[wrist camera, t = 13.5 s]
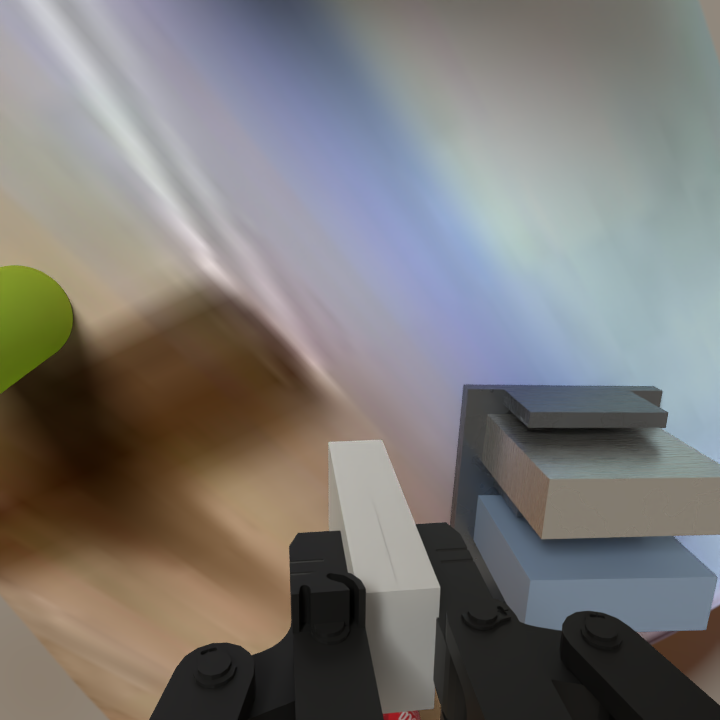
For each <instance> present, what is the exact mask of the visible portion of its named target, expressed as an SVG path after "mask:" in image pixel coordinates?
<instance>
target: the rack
mask: <svg viewBox="0 0 720 720" xmlns="http://www.w3.org/2000/svg"><path fill="white" fill-rule="evenodd" d="M661 396H662V390H660V389H658V388H656V387H654V386H550V385H464V387H463V397H462V408H461V418H460V428H459V439H458V449H457V459H456V470H455V480H454V490H453V501H452V511H451V521H450V526H451V527H452V528H454V529H455V530H456V531H457V532H459V533H460V534H461V536H462V538H463V540H464V542H465V544H466V546H467V550H469V552H470V554H471V556H472V558H473V561H474V562H475V564H476V566H477V567H478V569H479V571H480V573H481V575H482V577H483V579H484V581H485V583H486V585H487V587H488V589H489V591H490V593H491V595H492V597H493V598H494V599H498V600H499V601H501V602H503V603H504V604H506V602H505V600H504V598H503V596H502V594H501V592H500V590H499V588H498V586H497V584H496V582H495V581H494V579H493V577H492V575H491V573H490V571H489V569H488V567H487V565H486V563H485V561H484V559H483V557H482V556H481V554H480V552H479V550H478V548H477V546H476V544H475V542H474V540H473V539H474V529H475V520H476V511H477V501H478V495H501V496H502V497H503V499H504V500H505V502H506V503H507V504H508V506H509V507H510V508H511V510H512V511H513V512H514V514H515V515H516V516H517V517H525V519H526V520H527V521H528V523H529V524H530V525H531V526H532V528H533V529H534V530H535V532H536V533H537V534H538V536H539V537H540V538H541V539H572V538H609V537H646V536H684V535H720V464H718V463H717V462H715V461H713V460H712V459H710V458H709V457H707V456H705V455H704V454H702V453H700V452H699V451H697V450H696V449H694V448H692V447H691V446H689V445H687V444H686V443H684V442H682V441H681V440H679V439H678V438H676V437H674V436H673V435H671V434H669V433H668V432H666V431H664V430H663V429H661V428H666V423H667V417H668V412H666V411H665V410H663V409H661V408H659V407H660V401H661ZM506 605H507V604H506Z"/></svg>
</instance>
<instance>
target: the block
mask: <svg viewBox="0 0 720 720" xmlns="http://www.w3.org/2000/svg"><path fill="white" fill-rule="evenodd" d="M473 540H474V542H475V544H476V546H477V548H478V550H479V552H480V554H481V556H482V557H483V559H484V561H485V563H486V565H487V567H488V569H489V571H490V573H491V575H492V577H493V579H494V581H495V582H496V584H497V586H498V588H499V590H500V592H501V594H502V596H503V598H504V600H505V602H506V604H507V606H509V607H510V608H511V610H512V611H513V612H514V613H515V614H516V616H517V618H518V620H519V621H520V622H522V623H524V624H527V625H532V626H536V627H542V628H548V629H555V630H561V631H562V624H563V623H564V621H565V619H566V617H567V616H569V615H571V614H573V613H575V612H580V611H595V612H602V613H605V614H608V615H610V616H613V617H616V618H618V619H619V620H621V621H622V622H624V623H625V624H627V625H628V626H630V627H631V628H632V629H633V630H634V631H635V632H652V631H686V630H706V628H707V623H708V619H709V614H710V610H711V605H712V600H713V596H714V591H715V587H716V582H717V578H718V577H717V576H716V575H715V574H714V573H713V572H712V571H711V570H710V569H708V568H707V567H706V566H705V565H704V564H703V563H702V562H701V561H700V560H699V559H697V558H696V557H695V556H694V555H693V554H692V553H691V552H690V551H689V550H687V549H686V548H685V547H684V546H683V545H682V544H681V543H680V542H679V541H678V540H676V539H675V538H674V537H673V536H646V537H609V538H572V539H541V538H540V537H539V536H538V534H537V533H536V532H535V530H534V529H533V528H532V526H531V525H530V524H529V523H528V521H527V520H526V519H525V517H517V516H516V515H515V514H514V512H513V511H512V510H511V508H510V507H509V506H508V504H507V503H506V502H505V500H504V499H503V497H502V496H501V495H478V501H477V511H476V520H475V529H474V539H473Z"/></svg>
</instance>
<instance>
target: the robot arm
mask: <svg viewBox="0 0 720 720" xmlns="http://www.w3.org/2000/svg"><path fill="white" fill-rule="evenodd" d="M328 459H329V531H324V532H308V533H298V534H297V535H296V537H295V538H294V540H293V541H292V543H291V545H290V546H289V554H290V592H291V627H290V629H289V631H288V633H287V635H286V636H285V637H284V638H283V639H282V640H281V641H280V642H279V643H278V644H276V645H275V646H273V647H272V648H269V649H267V650H265V651H263V652H260V653H257V654H254V655H252V656H251V654H250V653H249V652H248V651H246V650H245V649H244V648H242V647H241V646H238V645H234V644H231V643H212V644H209V645H206V646H203V647H200V648H197V649H196V650H194V651H193V652H191V653H189V654H188V655H186V656H185V657H184V658H183V660H182V661H181V662H180V663H179V665H178V666H177V667H176V669H175V671H174V673H173V675H172V677H171V679H170V681H169V683H168V684H167V686H166V688H165V690H164V692H163V694H162V696H161V698H160V700H159V702H158V704H157V706H156V708H155V710H154V711H153V713H152V715H151V717H150V719H149V720H384V718H383V714H386V713H396V712H406V711H416V710H426V709H434V697H435V688H436V691H437V694H438V698H439V701H440V704H441V716H440V720H720V705H718V704H717V703H716V702H715V701H714V700H713V699H712V698H711V697H709V696H708V695H707V694H706V693H705V692H704V691H703V690H701V689H700V688H699V687H698V686H697V685H696V684H695V683H693V682H692V681H691V680H690V679H689V678H688V677H687V676H685V675H684V674H683V673H682V672H681V671H680V670H679V669H677V668H676V667H675V666H674V665H673V664H672V663H671V662H669V661H668V660H667V659H666V658H665V657H664V656H663V655H661V654H660V653H659V652H658V651H657V650H655V648H654V647H652V646H651V645H650V644H649V643H648V642H647V641H646V640H644V639H643V638H642V637H641V636H640V635H639V634H638V633H636V632H635V631H634V630H633V629H632V628H631V627H630V626H628V625H627V624H625V623H624V622H622V621H621V620H619V619H618V618H616V617H613V616H610V615H608V614H605V613H602V612H595V611H580V612H575V613H573V614H571V615H569V616H567V617H566V619H565V621H564V623H563V624H562V631H561V630H555V629H548V628H542V627H536V626H532V625H527V624H524V623H522V622H520V621H519V620H518V618H517V616H516V614H515V613H514V612H513V611H512V610H511V608H510V607H509V606H507V605H506V604H504V603H503V602H501V601H499V600H498V599H494V598H493V597H492V595H491V593H490V591H489V589H488V587H487V585H486V583H485V581H484V579H483V577H482V575H481V573H480V571H479V569H478V567H477V566H476V564H475V562H474V561H473V558H472V556H471V554H470V552H469V550H467V546H466V544H465V542H464V540H463V538H462V536H461V534H460V533H459V532H457V531H456V530H455V529H454V528H452V527H451V526H450V525H448V524H447V523H446V522H445V523H429V524H415V522H414V520H413V517H412V515H411V512H410V510H409V507H408V504H407V502H406V499H405V497H404V494H403V492H402V489H401V487H400V484H399V482H398V479H397V477H396V474H395V472H394V469H393V467H392V464H391V461H390V459H389V456H388V454H387V451H386V449H385V446H384V444H383V441H382V440H362V441H339V442H328Z"/></svg>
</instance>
